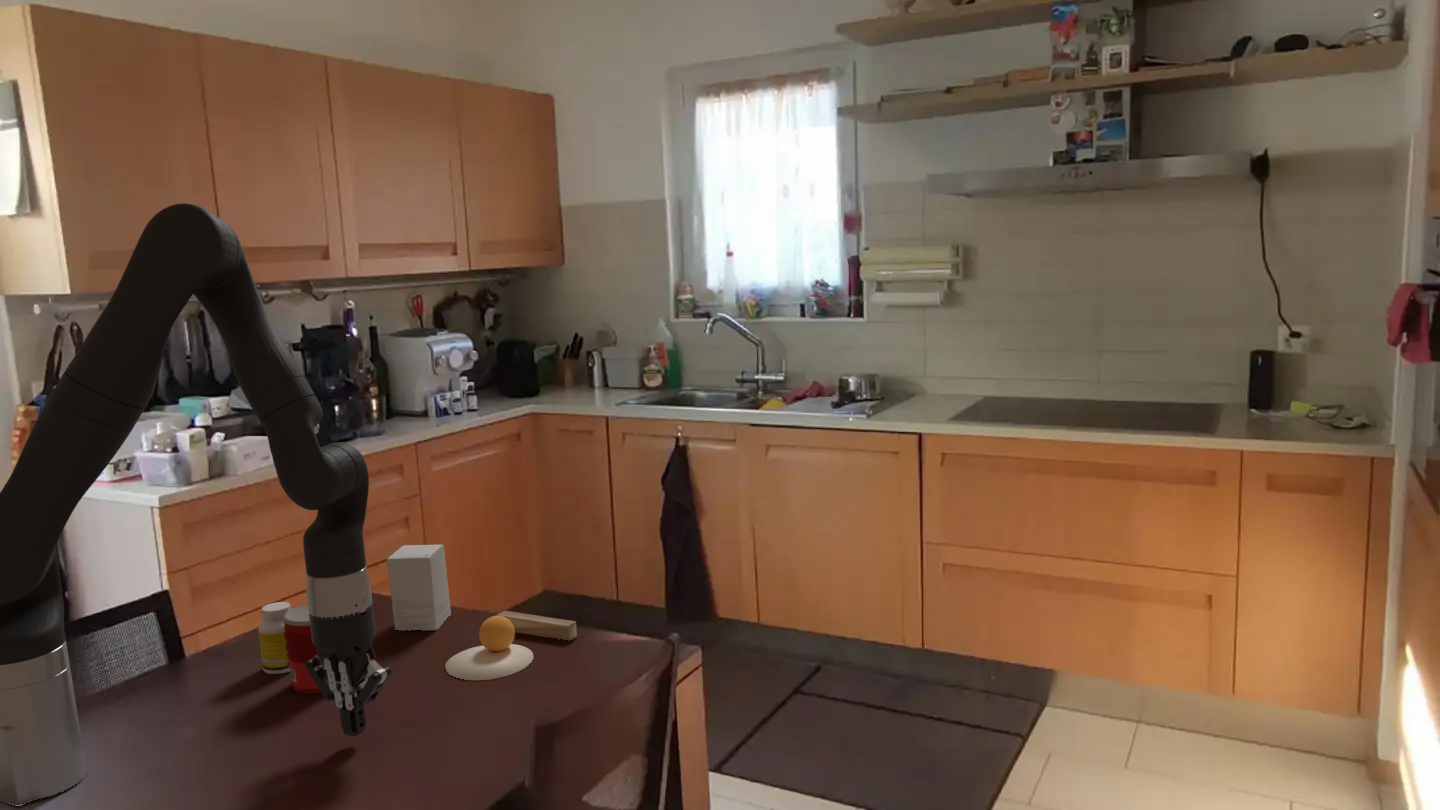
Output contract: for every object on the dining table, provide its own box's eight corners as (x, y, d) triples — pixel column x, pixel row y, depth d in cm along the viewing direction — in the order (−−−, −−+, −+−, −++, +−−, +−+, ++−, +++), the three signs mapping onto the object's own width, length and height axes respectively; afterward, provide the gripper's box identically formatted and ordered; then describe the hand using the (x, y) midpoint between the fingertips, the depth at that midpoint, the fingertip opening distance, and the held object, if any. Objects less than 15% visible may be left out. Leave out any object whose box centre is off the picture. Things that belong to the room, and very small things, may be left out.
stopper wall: (569, 641, 163) (568, 625, 163) (498, 629, 170) (496, 614, 169) (576, 636, 165) (575, 621, 165) (505, 625, 171) (504, 610, 171)
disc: (497, 686, 148) (497, 684, 148) (426, 672, 154) (426, 671, 154) (550, 651, 160) (550, 650, 160) (482, 640, 165) (482, 638, 165)
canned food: (330, 696, 147) (322, 622, 145) (280, 693, 149) (271, 620, 147) (359, 673, 155) (351, 602, 153) (311, 671, 156) (302, 601, 154)
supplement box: (452, 614, 177) (445, 543, 175) (436, 631, 170) (429, 557, 168) (410, 615, 178) (403, 543, 176) (393, 631, 171) (385, 557, 169)
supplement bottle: (292, 674, 155) (285, 612, 154) (256, 676, 155) (249, 613, 154) (307, 659, 161) (300, 599, 159) (272, 661, 161) (265, 600, 159)
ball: (505, 661, 158) (498, 631, 156) (476, 655, 161) (468, 627, 158) (524, 639, 163) (517, 611, 161) (495, 635, 165) (488, 606, 163)
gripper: (278, 607, 129) (293, 737, 132) (357, 621, 124) (372, 756, 126) (324, 587, 136) (338, 711, 139) (402, 599, 130) (415, 729, 133)
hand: (354, 733), depth 133 cm, fingers closed
